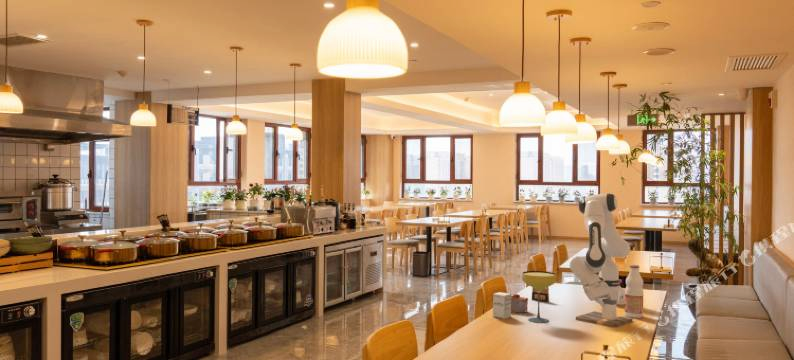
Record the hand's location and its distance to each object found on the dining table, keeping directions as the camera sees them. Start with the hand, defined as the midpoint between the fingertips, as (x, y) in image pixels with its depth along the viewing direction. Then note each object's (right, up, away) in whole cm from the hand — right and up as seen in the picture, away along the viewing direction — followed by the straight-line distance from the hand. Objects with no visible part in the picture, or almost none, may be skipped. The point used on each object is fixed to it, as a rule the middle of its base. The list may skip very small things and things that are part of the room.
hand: (607, 304), depth 330 cm
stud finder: (0, -8, 0) cm, 8 cm away
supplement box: (-55, -9, +7) cm, 56 cm away
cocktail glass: (-37, -9, 0) cm, 38 cm away
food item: (-45, -9, +21) cm, 50 cm away
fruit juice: (+18, -9, +12) cm, 24 cm away
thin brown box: (-24, -8, +50) cm, 57 cm away
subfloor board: (-2, -9, +2) cm, 9 cm away
